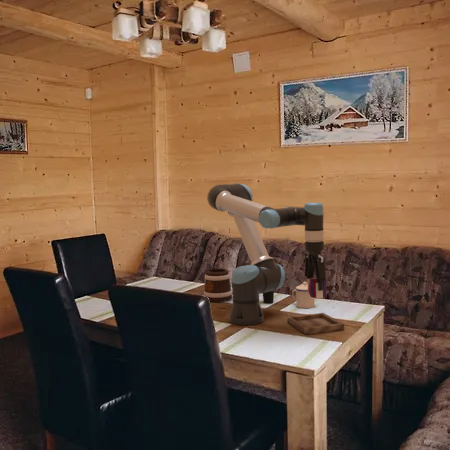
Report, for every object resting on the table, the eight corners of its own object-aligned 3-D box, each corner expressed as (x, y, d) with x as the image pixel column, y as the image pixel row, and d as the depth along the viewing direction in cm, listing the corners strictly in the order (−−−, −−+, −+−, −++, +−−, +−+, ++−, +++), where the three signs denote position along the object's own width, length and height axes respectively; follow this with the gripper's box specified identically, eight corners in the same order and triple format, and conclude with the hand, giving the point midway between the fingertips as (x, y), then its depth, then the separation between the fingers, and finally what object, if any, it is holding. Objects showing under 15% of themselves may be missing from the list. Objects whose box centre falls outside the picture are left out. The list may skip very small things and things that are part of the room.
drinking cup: (278, 301, 249) (278, 261, 247) (271, 305, 242) (270, 264, 241) (265, 299, 253) (264, 260, 251) (258, 303, 247) (257, 263, 245)
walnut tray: (305, 335, 196) (305, 329, 195) (287, 322, 213) (287, 316, 213) (344, 330, 200) (344, 324, 200) (323, 318, 218) (323, 312, 217)
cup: (329, 296, 205) (329, 279, 204) (314, 300, 199) (313, 283, 198) (317, 293, 210) (316, 277, 209) (301, 297, 204) (301, 281, 203)
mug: (238, 299, 256) (237, 270, 254) (213, 304, 247) (212, 274, 246) (217, 292, 272) (217, 265, 271) (193, 296, 264) (192, 268, 263)
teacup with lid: (318, 305, 239) (318, 281, 238) (307, 309, 232) (307, 285, 231) (297, 301, 247) (297, 278, 246) (287, 305, 241) (286, 281, 240)
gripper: (334, 242, 194) (335, 300, 196) (311, 237, 213) (312, 290, 215) (317, 244, 192) (318, 302, 194) (295, 238, 211) (296, 291, 213)
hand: (315, 296), depth 205 cm, fingers closed on cup, 7 cm apart
